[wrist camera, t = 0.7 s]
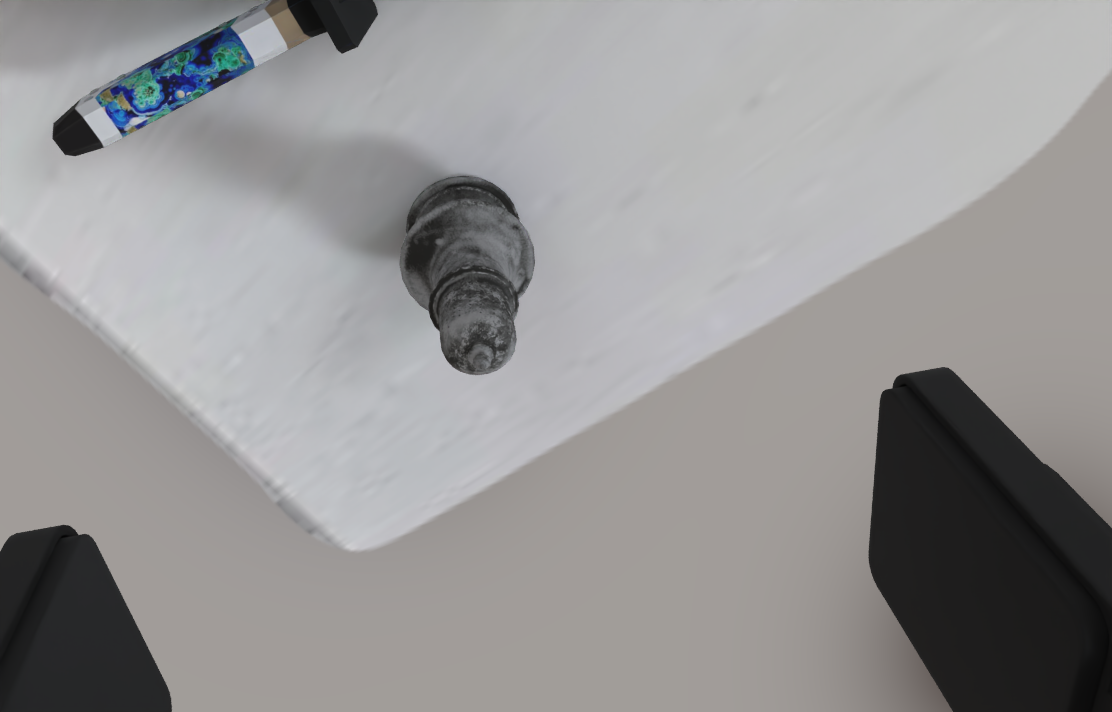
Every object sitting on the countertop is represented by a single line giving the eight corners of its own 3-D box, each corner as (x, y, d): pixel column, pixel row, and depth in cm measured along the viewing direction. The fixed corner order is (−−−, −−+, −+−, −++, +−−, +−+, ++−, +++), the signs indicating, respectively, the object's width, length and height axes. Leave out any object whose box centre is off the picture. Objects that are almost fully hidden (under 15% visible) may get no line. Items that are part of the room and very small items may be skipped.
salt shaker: (537, 268, 45) (576, 411, 35) (419, 298, 45) (425, 449, 35) (510, 156, 42) (544, 278, 32) (383, 187, 42) (378, 319, 32)
